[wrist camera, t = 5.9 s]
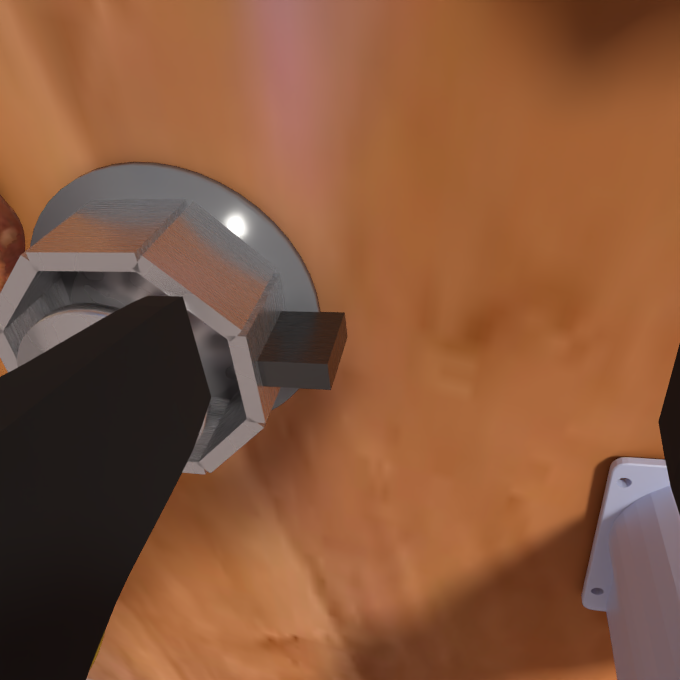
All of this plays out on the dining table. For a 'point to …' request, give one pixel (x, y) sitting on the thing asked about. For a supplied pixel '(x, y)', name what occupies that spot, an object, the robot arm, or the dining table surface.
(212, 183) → the round metal disc
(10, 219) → the slice of bread
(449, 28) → the dining table surface
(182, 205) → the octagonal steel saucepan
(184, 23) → the dining table surface
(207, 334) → the silver rounded piece
